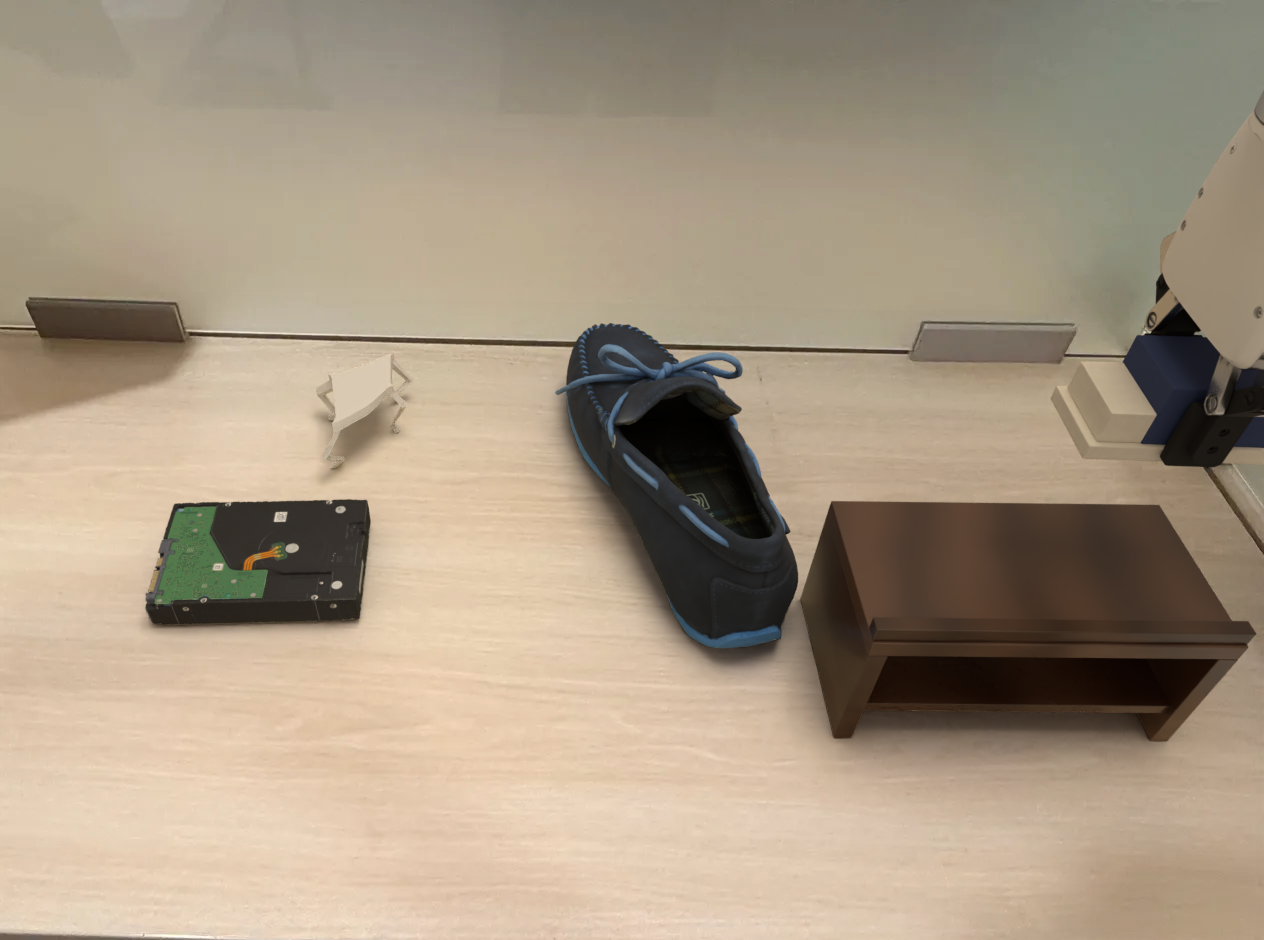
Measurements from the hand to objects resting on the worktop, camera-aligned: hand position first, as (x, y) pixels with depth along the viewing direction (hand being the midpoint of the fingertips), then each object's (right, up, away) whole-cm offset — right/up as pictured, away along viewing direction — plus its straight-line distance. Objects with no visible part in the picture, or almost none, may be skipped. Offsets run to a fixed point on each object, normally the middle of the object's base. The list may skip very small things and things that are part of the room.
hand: (1166, 424), depth 56 cm
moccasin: (-26, -3, +24) cm, 35 cm away
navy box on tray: (0, 0, 0) cm, 0 cm away
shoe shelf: (-6, -15, +12) cm, 20 cm away
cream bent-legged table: (-52, +2, +28) cm, 59 cm away
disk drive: (-56, -9, +17) cm, 60 cm away
